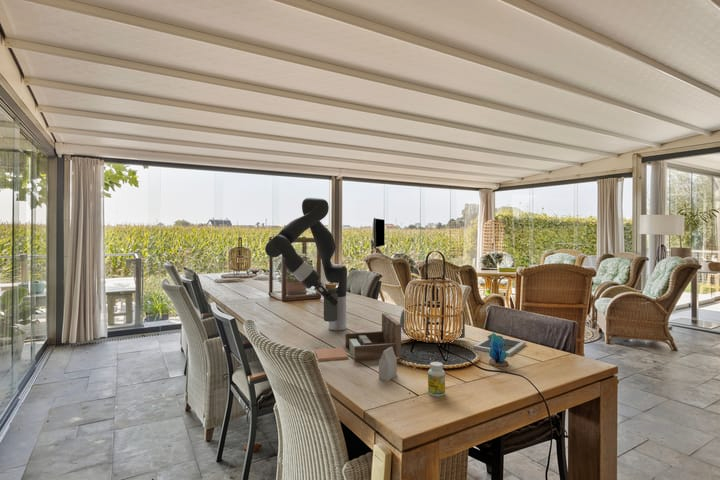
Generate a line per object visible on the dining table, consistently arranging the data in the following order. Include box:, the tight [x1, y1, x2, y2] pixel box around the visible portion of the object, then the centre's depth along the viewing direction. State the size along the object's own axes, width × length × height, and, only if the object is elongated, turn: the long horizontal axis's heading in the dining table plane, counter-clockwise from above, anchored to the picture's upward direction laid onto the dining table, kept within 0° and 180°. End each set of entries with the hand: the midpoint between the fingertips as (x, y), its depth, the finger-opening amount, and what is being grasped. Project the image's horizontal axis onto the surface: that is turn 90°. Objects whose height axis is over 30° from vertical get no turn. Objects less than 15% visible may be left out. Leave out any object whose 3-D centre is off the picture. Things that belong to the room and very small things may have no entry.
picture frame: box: [472, 333, 527, 357], centre depth 176 cm, size 16×3×21 cm
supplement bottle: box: [427, 361, 446, 397], centre depth 127 cm, size 5×5×10 cm
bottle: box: [323, 282, 338, 323], centre depth 164 cm, size 6×6×15 cm
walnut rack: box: [344, 312, 402, 363], centre depth 168 cm, size 21×19×14 cm
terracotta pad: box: [314, 347, 349, 362], centre depth 165 cm, size 12×12×1 cm
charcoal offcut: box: [358, 335, 372, 345], centre depth 168 cm, size 12×3×6 cm, turn 13°
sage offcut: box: [348, 339, 360, 357], centre depth 167 cm, size 14×3×4 cm, turn 12°
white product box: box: [378, 347, 398, 382], centre depth 141 cm, size 4×7×10 cm, turn 150°
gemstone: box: [488, 332, 509, 368], centre depth 154 cm, size 7×9×12 cm
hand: (334, 302), depth 164 cm, fingers closed on bottle, 5 cm apart
